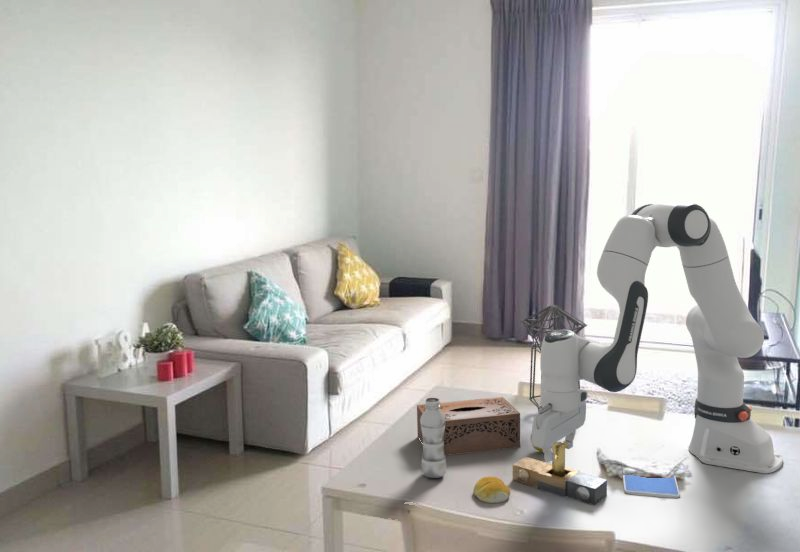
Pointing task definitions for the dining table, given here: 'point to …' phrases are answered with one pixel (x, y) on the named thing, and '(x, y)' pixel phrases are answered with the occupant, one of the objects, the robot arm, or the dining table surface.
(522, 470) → the block
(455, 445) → the tissue box cover
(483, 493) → the bread roll
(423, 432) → the plastic bottle
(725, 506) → the dining table surface
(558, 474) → the brass pin
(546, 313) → the geometric lantern
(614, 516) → the dining table surface
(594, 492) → the block
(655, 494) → the tablet computer
